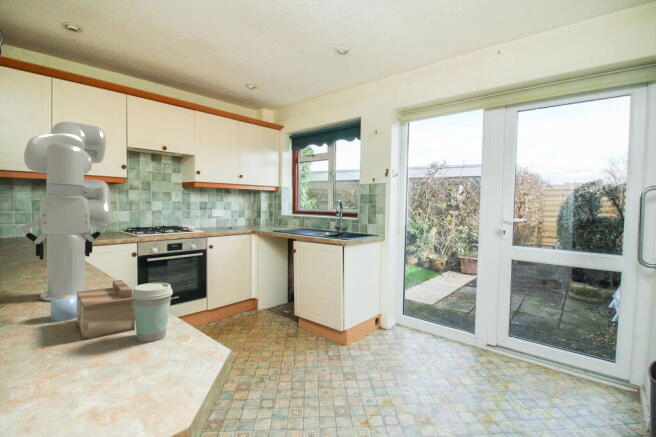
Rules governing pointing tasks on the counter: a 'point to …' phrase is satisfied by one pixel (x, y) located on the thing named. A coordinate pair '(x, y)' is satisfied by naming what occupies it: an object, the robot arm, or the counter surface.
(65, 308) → the pale blue rounded block
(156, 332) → the coffee cup
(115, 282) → the lid
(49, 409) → the counter surface
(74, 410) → the counter surface
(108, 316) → the crate
